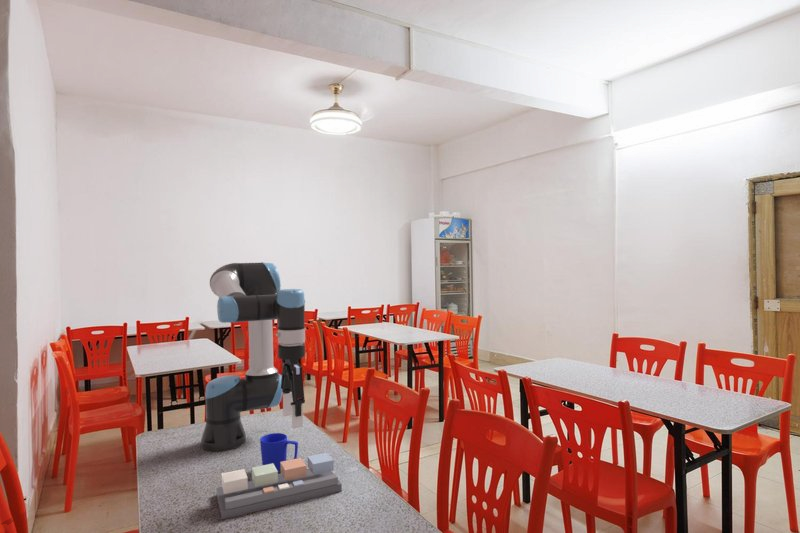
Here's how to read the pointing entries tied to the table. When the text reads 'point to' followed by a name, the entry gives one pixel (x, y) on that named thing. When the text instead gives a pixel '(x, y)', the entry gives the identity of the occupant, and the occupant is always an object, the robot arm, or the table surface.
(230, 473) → the ivory key
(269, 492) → the keypad
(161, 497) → the table surface
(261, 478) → the sage key
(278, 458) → the mug
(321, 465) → the blue key
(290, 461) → the terracotta key
